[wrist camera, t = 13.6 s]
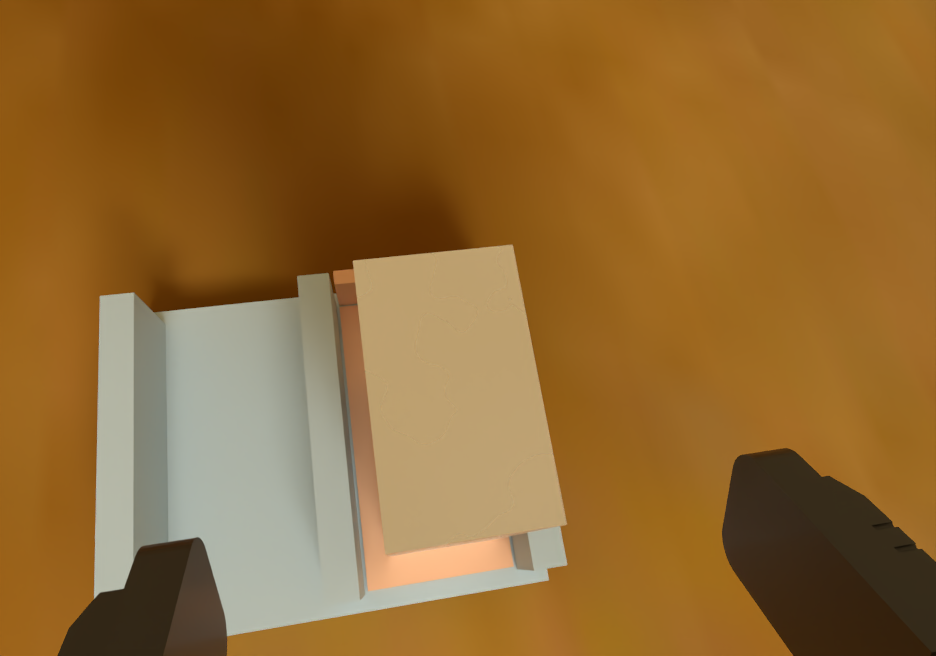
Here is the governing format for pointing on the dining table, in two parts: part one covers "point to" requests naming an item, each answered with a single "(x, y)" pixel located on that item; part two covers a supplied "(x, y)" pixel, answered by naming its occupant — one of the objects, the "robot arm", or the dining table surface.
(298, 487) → the slot rack
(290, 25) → the dining table surface
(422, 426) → the panel
